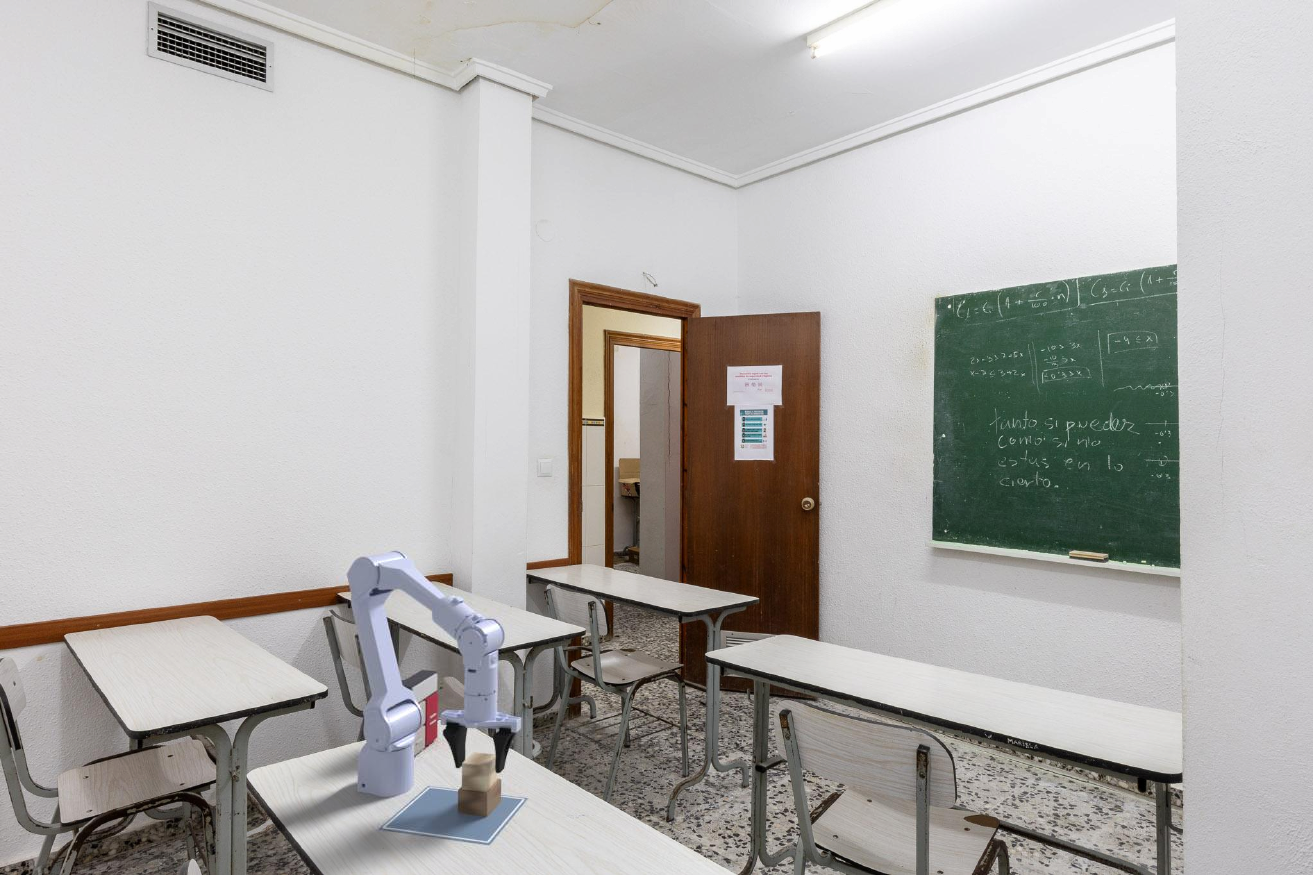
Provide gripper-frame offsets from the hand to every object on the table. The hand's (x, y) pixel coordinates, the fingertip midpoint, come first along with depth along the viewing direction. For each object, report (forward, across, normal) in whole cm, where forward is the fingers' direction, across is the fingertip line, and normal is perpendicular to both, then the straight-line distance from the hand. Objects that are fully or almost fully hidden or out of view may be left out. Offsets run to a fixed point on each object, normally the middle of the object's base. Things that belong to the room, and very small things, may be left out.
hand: (479, 768), depth 125 cm
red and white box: (+8, -25, +21) cm, 34 cm away
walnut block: (+7, 0, 0) cm, 7 cm away
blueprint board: (+8, -3, -3) cm, 9 cm away
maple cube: (+3, 0, 0) cm, 3 cm away
